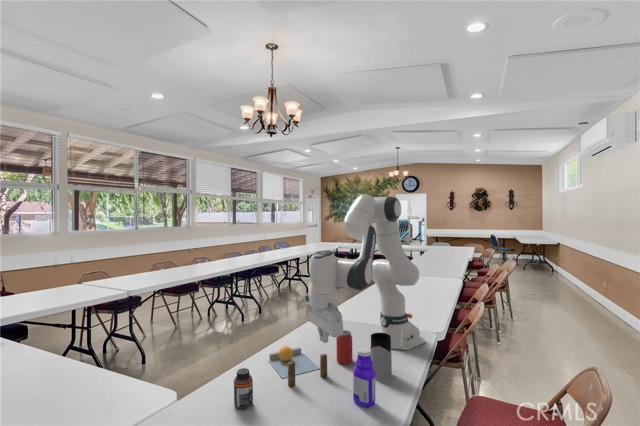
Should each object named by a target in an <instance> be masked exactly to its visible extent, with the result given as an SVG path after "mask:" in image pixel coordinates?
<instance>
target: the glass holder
mask: <svg viewBox="0 0 640 426" xmlns="http://www.w3.org/2000/svg"><path fill="white" fill-rule="evenodd" d="M369 349H370V354H371V360H372V362H373V366H372V367H373V369H374V371H375V382H382V383H383V382H390V381H391V380H393V377H394V376H393V373H392V372H393V366H392V349H391V336H390V335H389V334H386V332H384V333H380V332H374V333H371V334H370V348H369Z"/></svg>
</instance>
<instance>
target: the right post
mask: <svg viewBox="0 0 640 426" xmlns="http://www.w3.org/2000/svg"><path fill="white" fill-rule="evenodd" d="M319 362H320V363H319V364H320V365H319V368H320V369H319V371H320V375H319V376H320V378H321V379H326V378H328V355H327V354H326V353H321V354H320V358H319Z"/></svg>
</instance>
